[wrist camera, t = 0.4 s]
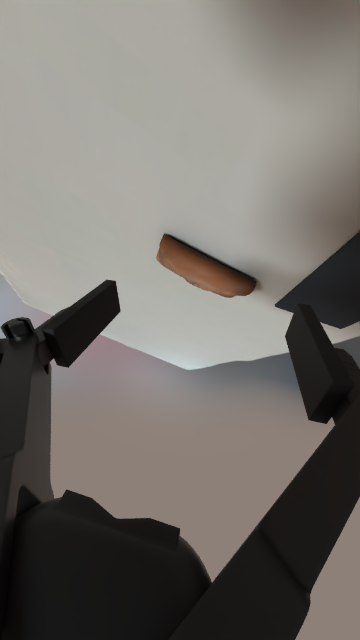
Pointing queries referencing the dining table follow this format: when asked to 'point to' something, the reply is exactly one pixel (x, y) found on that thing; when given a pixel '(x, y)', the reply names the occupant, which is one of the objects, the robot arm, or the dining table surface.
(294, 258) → the dining table surface
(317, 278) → the mat
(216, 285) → the sunglasses case
